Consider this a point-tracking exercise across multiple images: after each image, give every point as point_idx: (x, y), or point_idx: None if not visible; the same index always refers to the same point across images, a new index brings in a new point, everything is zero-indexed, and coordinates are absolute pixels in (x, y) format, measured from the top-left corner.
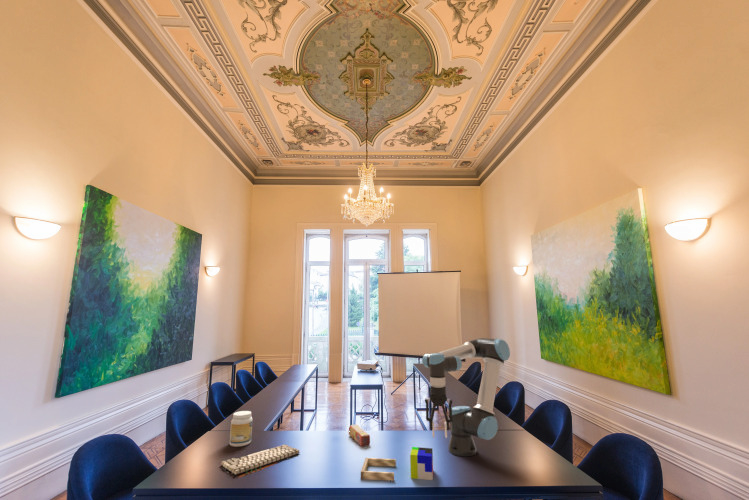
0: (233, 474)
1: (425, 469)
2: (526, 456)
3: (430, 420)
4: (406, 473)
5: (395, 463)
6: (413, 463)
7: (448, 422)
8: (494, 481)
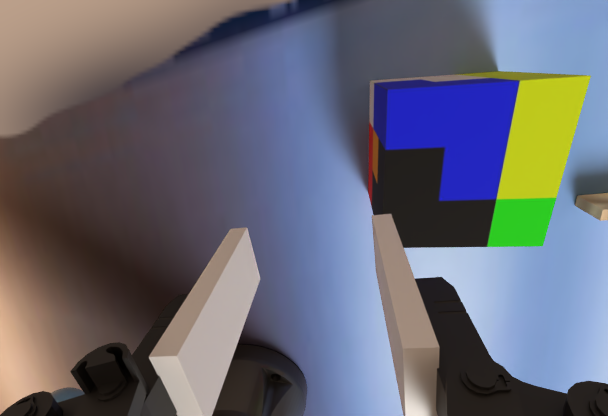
0: None
1: (420, 80)
2: (34, 371)
3: (506, 395)
4: None
5: (590, 201)
6: (521, 75)
7: (89, 360)
8: (82, 148)
